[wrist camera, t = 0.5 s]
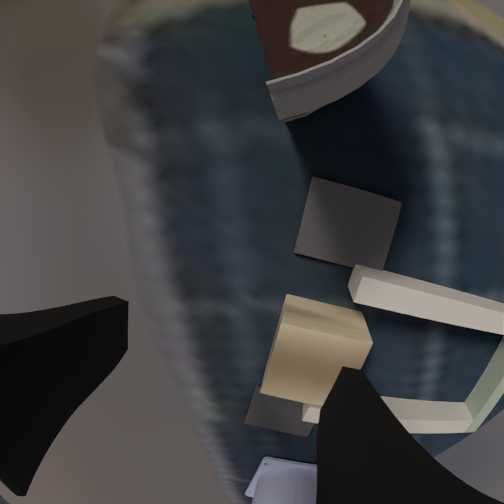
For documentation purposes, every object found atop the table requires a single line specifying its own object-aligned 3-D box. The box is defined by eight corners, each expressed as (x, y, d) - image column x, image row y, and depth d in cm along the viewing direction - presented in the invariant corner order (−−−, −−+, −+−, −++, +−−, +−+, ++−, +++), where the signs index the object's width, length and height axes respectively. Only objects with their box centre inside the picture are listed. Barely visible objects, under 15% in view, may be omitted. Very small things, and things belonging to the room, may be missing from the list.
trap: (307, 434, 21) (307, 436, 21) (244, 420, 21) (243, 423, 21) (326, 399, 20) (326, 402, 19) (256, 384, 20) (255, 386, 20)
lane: (466, 414, 18) (474, 431, 16) (303, 397, 20) (302, 420, 17) (525, 310, 15) (541, 323, 12) (354, 262, 17) (362, 276, 14)
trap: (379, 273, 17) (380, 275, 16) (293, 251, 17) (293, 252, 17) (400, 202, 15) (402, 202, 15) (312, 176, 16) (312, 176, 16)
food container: (392, 132, 14) (484, 87, 5) (291, 147, 16) (271, 104, 6) (334, -25, 12) (339, -125, 2) (246, -12, 13) (201, -110, 4)
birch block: (336, 371, 19) (339, 409, 15) (268, 356, 20) (259, 392, 16) (361, 310, 18) (373, 342, 14) (286, 293, 18) (281, 322, 14)
